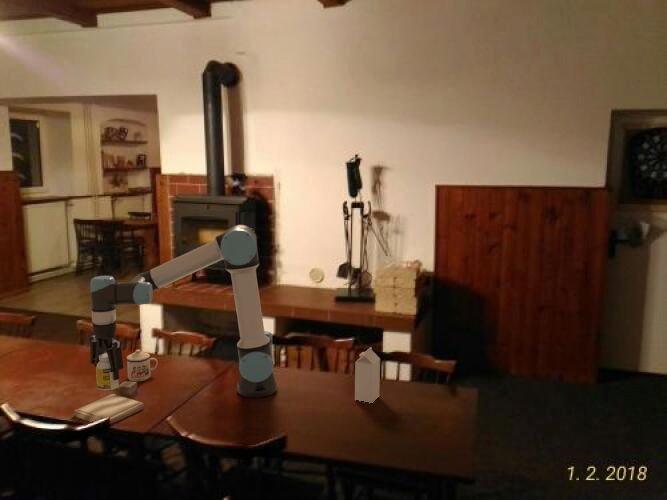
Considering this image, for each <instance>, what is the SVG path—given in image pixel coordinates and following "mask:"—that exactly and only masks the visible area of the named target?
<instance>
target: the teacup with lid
mask: <svg viewBox="0 0 667 500" xmlns="http://www.w3.org/2000/svg"><path fill="white" fill-rule="evenodd" d="M125 360H126V363H127V365H126V366H127V379H128V381H130V382H137V383H138V382H143V381H147V380H148V379H150V378H151V371H154V370H155V369H156V368H157V366H158V364H159V362H158V359H157V358H155V357H151V355H150V354H149V353H148V352H144V351H142V350H141V349H135V352H133V353H131V354H128V355H127V356H126V359H125ZM151 361H155V365H154V366H153V367H151Z"/></svg>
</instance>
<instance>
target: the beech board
mask: <svg viewBox="0 0 667 500" xmlns="http://www.w3.org/2000/svg"><path fill="white" fill-rule="evenodd" d="M144 409H145V403H144V402H142V401H138V400H135V399H129V398H126V397H122V396H119V395H118V394H117V393H112V394H109V395H107V396H104V397H102V398H100V399H98V400H95V401H93V402H91V403H88V404H86V405H83V406H81V407H79V408H77V409H74V410H73V417H76V418H78V419H82V420H84V421H87V422H90V423H92V421H95V420H99V419H103V418H107V417H109V418H110V421H111V423H113V422H115V423H117V422H119V421H121V420H123V419H125V418H128V417H129V416H132V415H135V414H136V413H138V412H139V411H142V410H144ZM127 416H128V417H127ZM120 419H121V420H120ZM118 420H119V421H118ZM116 421H117V422H116ZM113 424H114V423H113Z"/></svg>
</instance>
